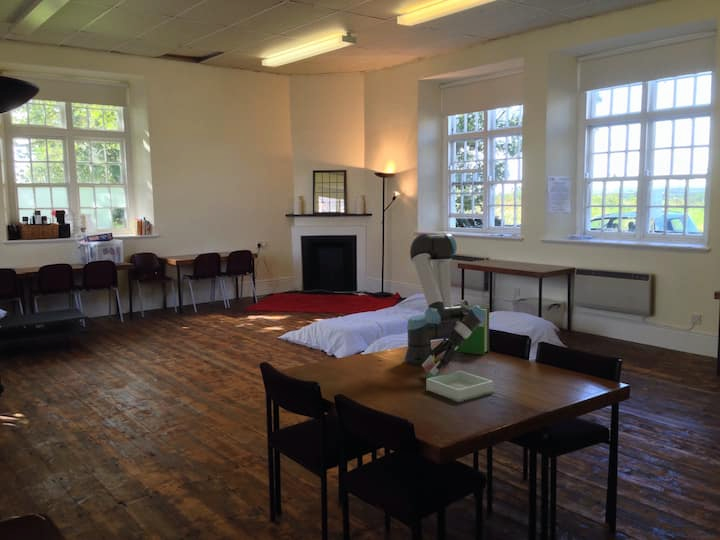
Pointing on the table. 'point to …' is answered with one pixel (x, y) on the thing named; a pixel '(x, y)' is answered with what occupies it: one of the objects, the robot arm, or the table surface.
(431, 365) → the cupcake
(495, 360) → the table surface
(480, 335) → the hardback book
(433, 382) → the box
